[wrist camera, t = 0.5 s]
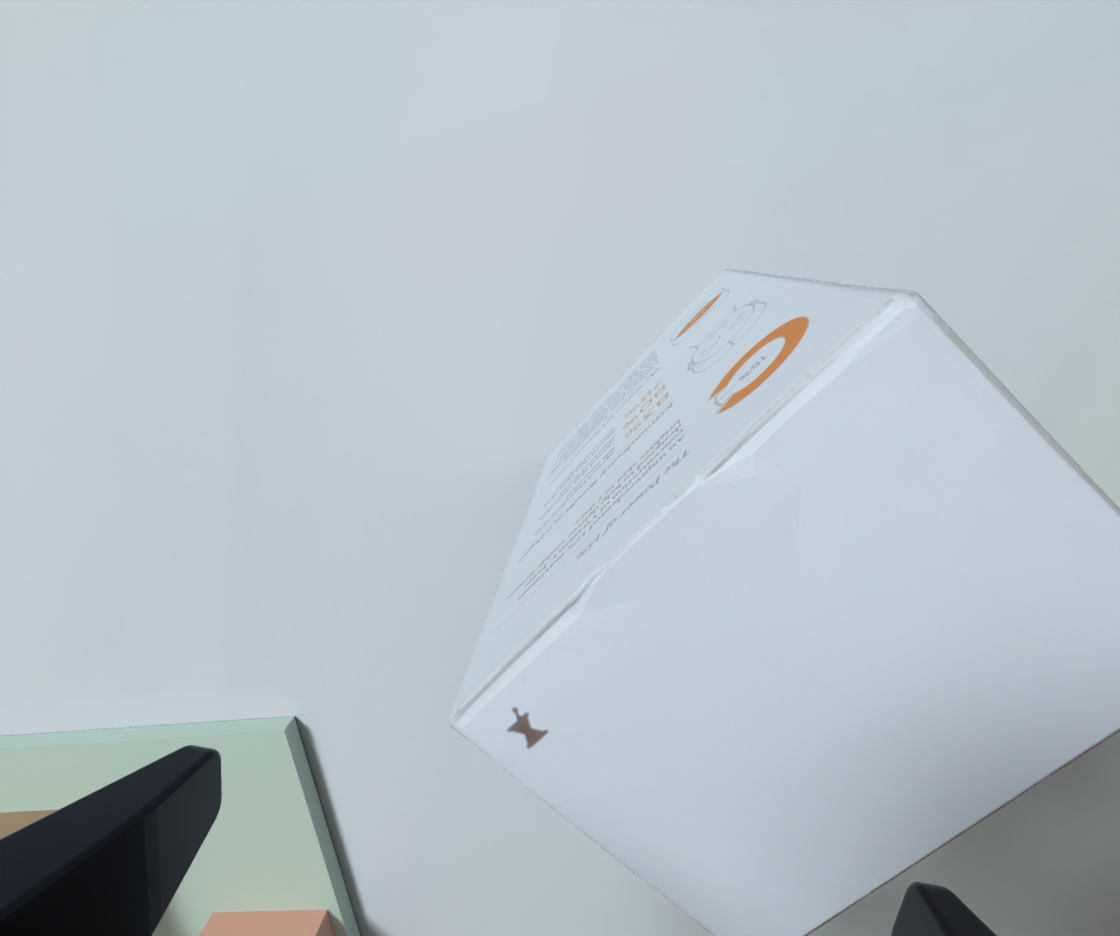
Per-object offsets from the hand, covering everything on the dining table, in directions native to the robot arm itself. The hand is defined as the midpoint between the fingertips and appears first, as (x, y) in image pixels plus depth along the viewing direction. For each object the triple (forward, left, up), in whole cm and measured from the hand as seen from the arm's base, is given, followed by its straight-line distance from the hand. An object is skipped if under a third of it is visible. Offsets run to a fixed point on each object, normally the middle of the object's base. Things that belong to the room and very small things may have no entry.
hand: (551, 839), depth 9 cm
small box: (+1, -3, -14) cm, 15 cm away
